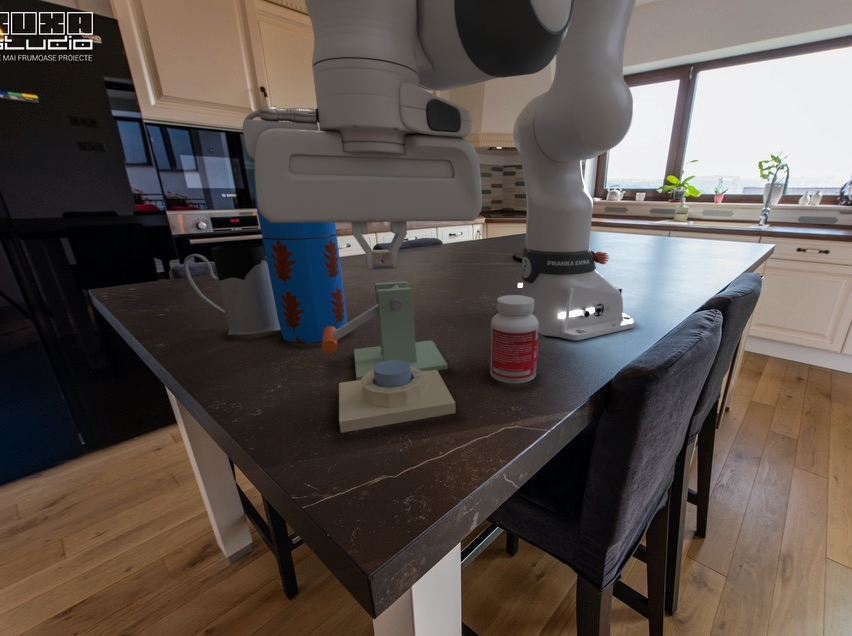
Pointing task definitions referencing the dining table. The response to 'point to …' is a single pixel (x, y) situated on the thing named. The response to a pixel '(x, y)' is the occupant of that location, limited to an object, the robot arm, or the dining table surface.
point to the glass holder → (242, 288)
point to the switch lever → (346, 328)
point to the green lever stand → (397, 334)
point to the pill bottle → (514, 340)
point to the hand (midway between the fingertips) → (382, 268)
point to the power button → (392, 373)
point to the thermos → (304, 277)
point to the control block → (392, 401)
